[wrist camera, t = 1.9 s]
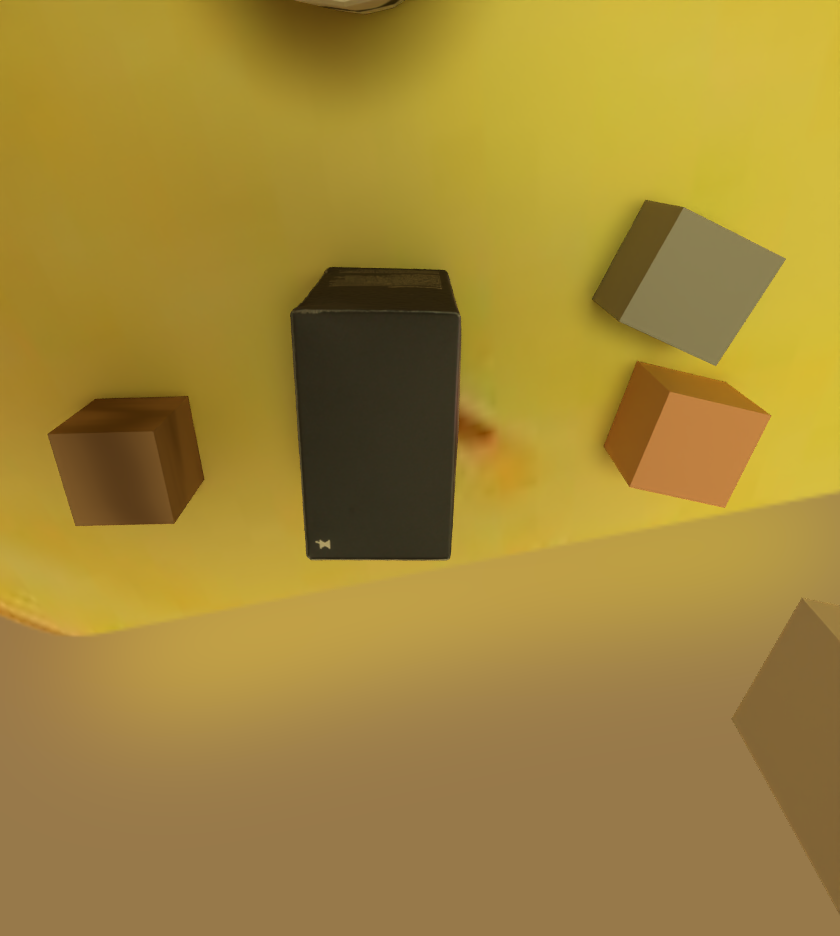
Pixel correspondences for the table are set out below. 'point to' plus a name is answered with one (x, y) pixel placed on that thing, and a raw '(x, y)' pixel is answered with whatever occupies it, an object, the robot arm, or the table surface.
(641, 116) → the table surface
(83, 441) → the walnut cube
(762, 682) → the robot arm
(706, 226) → the slate cube
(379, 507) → the small box
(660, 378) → the terracotta cube
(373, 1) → the mug
